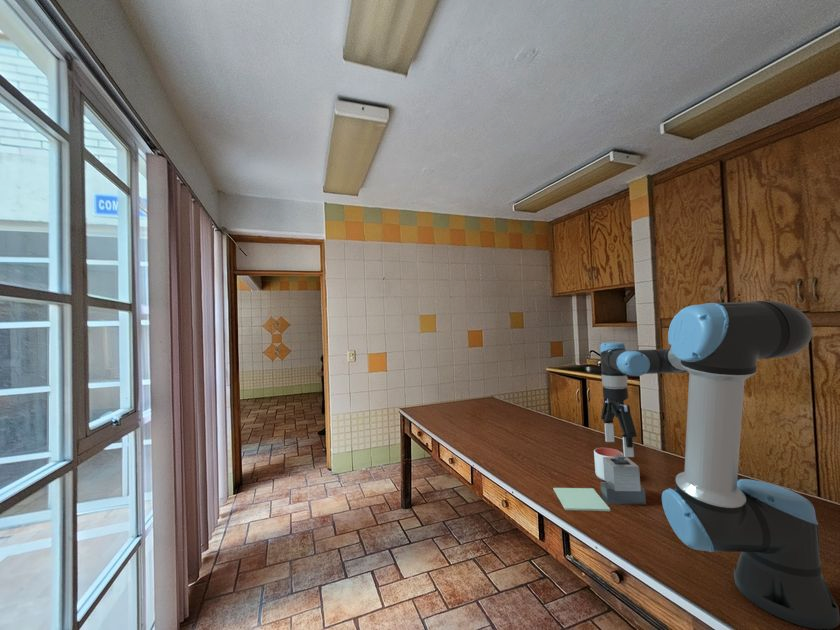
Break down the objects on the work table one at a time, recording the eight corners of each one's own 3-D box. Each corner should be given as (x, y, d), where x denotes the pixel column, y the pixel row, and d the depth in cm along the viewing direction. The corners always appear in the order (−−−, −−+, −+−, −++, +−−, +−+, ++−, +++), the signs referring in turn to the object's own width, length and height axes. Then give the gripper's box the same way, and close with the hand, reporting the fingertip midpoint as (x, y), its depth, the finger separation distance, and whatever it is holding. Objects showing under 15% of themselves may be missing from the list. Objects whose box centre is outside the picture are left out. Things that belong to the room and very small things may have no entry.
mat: (610, 511, 106) (610, 509, 106) (565, 510, 108) (565, 508, 108) (593, 490, 120) (593, 488, 120) (553, 489, 121) (553, 487, 121)
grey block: (645, 504, 109) (642, 458, 109) (607, 503, 110) (604, 458, 111) (637, 496, 114) (634, 453, 114) (601, 496, 115) (598, 453, 116)
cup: (629, 484, 122) (627, 457, 123) (600, 483, 124) (598, 456, 125) (618, 473, 132) (617, 447, 133) (592, 472, 134) (590, 447, 135)
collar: (640, 491, 108) (639, 466, 108) (614, 491, 109) (613, 466, 109) (628, 480, 116) (626, 457, 116) (604, 479, 117) (602, 457, 117)
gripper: (646, 394, 101) (651, 464, 100) (610, 380, 126) (613, 436, 125) (620, 394, 102) (625, 463, 101) (589, 380, 127) (593, 436, 126)
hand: (618, 448), depth 113 cm, fingers open, 13 cm apart
